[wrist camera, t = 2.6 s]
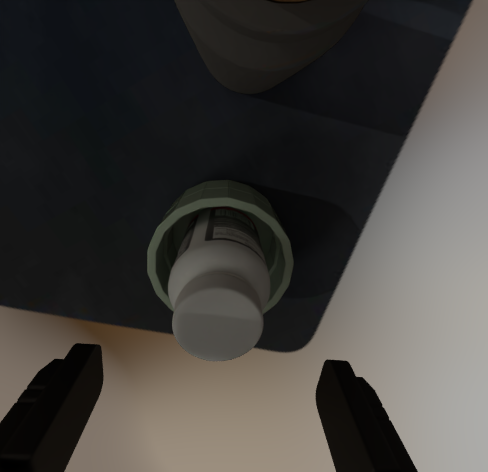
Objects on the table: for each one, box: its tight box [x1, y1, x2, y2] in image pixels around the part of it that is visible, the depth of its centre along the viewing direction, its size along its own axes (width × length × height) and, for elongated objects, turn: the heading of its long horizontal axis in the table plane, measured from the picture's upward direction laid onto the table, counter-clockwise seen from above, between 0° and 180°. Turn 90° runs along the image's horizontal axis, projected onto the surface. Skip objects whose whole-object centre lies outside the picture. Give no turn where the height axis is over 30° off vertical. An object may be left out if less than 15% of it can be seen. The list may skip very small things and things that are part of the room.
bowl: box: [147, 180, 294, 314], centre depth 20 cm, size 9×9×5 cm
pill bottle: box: [168, 206, 270, 361], centre depth 17 cm, size 5×5×10 cm
